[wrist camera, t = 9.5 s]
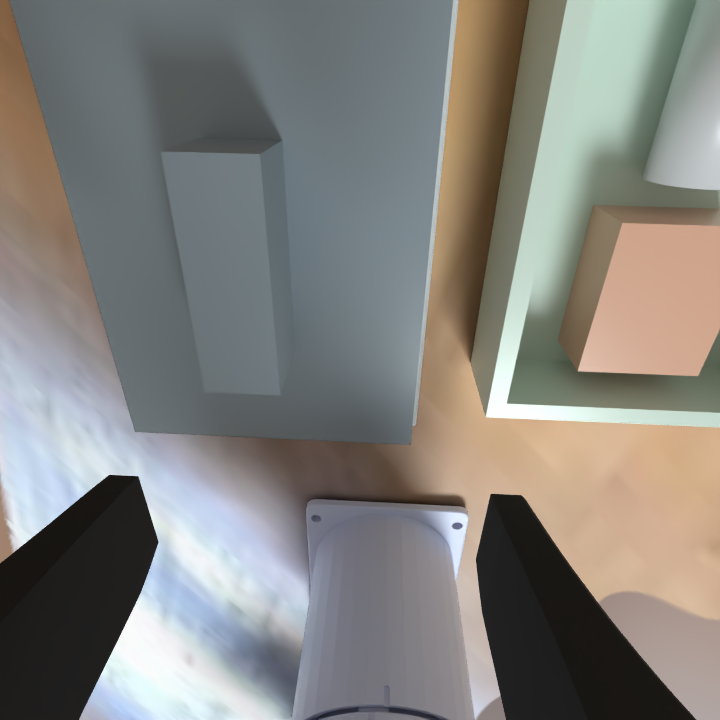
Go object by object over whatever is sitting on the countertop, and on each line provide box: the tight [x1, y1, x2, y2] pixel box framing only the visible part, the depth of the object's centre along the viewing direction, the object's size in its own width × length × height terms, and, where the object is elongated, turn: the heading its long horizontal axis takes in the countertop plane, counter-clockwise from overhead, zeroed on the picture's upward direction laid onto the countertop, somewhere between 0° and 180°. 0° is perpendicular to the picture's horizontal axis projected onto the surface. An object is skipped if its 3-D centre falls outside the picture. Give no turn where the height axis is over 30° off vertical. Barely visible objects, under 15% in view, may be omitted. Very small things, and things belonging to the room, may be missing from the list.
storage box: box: [471, 0, 720, 427], centre depth 14 cm, size 14×10×4 cm
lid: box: [9, 0, 453, 445], centre depth 15 cm, size 15×11×4 cm
